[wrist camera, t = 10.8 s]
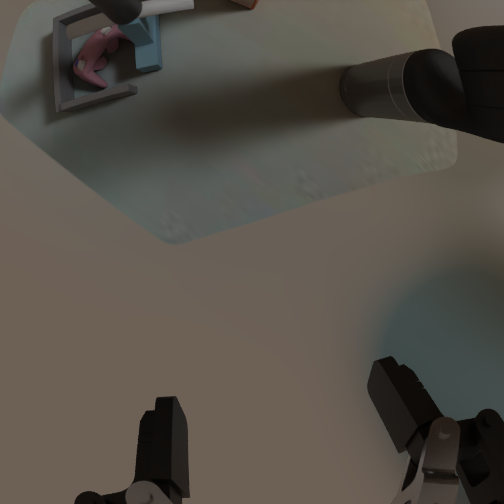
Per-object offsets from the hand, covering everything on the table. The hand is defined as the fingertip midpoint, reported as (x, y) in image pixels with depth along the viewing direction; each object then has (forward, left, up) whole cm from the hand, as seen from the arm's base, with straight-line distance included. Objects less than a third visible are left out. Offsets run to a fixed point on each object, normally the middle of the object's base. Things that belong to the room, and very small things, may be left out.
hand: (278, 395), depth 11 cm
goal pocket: (+17, -24, -38) cm, 48 cm away
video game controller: (+15, -23, -38) cm, 47 cm away
